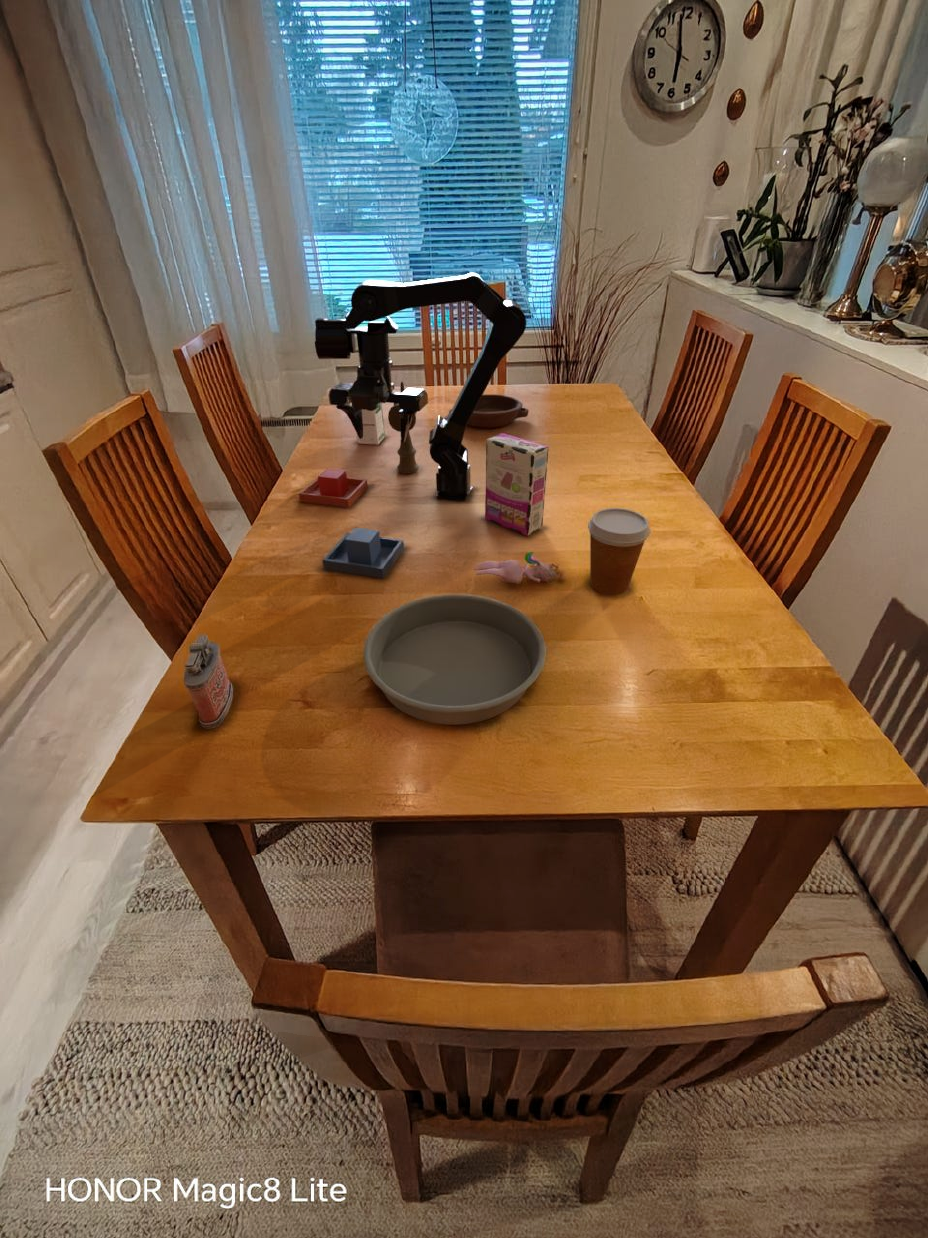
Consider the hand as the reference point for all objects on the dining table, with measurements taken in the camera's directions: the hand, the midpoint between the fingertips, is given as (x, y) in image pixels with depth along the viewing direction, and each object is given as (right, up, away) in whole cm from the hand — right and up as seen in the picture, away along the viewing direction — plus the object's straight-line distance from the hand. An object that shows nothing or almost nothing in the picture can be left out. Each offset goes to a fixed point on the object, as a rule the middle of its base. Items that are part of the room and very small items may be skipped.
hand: (382, 439), depth 120 cm
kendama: (+4, -2, +17) cm, 18 cm away
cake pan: (+15, -44, -37) cm, 59 cm away
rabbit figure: (+26, -30, -20) cm, 44 cm away
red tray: (-11, -10, +7) cm, 17 cm away
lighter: (-16, -48, -43) cm, 66 cm away
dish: (+24, +19, +44) cm, 54 cm away
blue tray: (-1, -26, -14) cm, 29 cm away
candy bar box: (+26, -18, -4) cm, 32 cm away
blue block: (-1, -25, -14) cm, 29 cm away
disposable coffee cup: (+41, -31, -21) cm, 55 cm away
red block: (-11, -9, +7) cm, 16 cm away
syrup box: (-7, +10, +33) cm, 35 cm away
